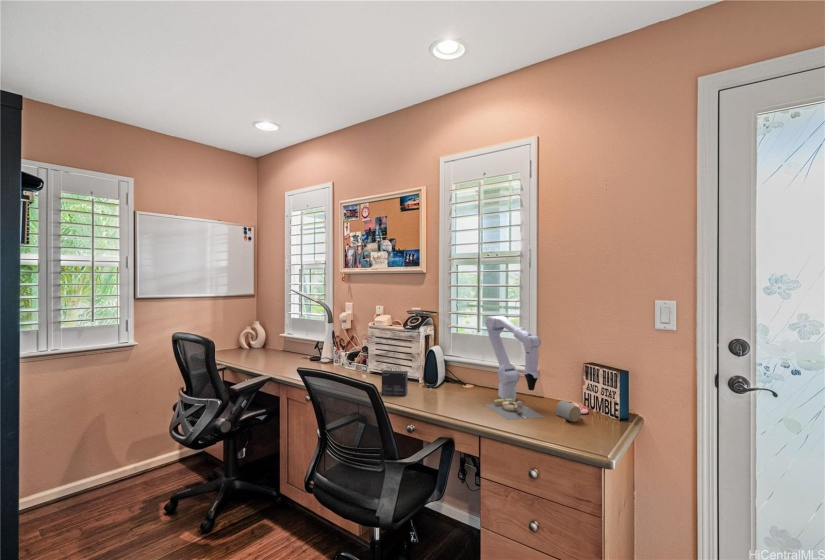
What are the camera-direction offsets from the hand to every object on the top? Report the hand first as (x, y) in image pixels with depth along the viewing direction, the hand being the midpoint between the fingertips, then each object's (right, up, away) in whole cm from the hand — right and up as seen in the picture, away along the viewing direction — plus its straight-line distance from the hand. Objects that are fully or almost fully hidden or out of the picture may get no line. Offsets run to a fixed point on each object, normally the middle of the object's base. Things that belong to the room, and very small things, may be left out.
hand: (531, 389), depth 190 cm
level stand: (-10, -9, -6) cm, 15 cm away
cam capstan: (-10, -7, -6) cm, 14 cm away
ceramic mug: (+14, -10, -12) cm, 21 cm away
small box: (-66, -9, +24) cm, 70 cm away
